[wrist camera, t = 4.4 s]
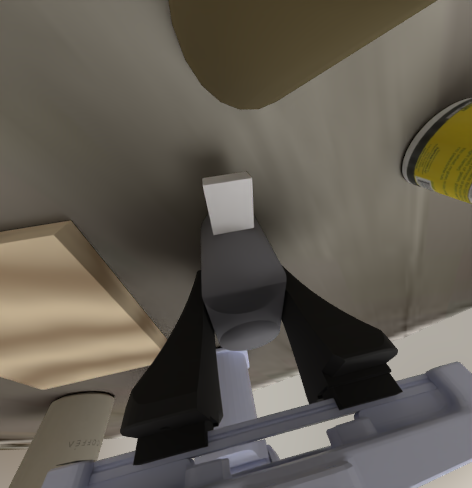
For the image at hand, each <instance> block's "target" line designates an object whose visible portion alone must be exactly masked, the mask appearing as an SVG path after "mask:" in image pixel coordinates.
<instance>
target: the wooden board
mask: <svg viewBox="0 0 472 488" xmlns="http://www.w3.org/2000/svg"><path fill="white" fill-rule="evenodd" d="M166 341H167V339H166V338H165V336H164V335H163V334H162V333H161V331H160V330H159V329H158V328H157V326H156V325H155V324H154V323H153V321H152V320H151V319H150V318H149V317H148V315H147V314H146V313H145V312H144V310H143V309H142V308H141V307H140V305H139V304H138V303H137V302H136V300H135V299H134V298H133V297H132V295H131V294H130V293H129V292H128V291H127V289H126V288H125V287H124V286H123V284H122V283H121V282H120V281H119V279H118V278H117V277H116V276H115V274H114V273H113V272H112V271H111V269H110V268H109V267H108V266H107V265H106V263H105V262H104V261H103V260H102V258H101V257H100V256H99V255H98V253H97V252H96V251H95V250H94V248H93V247H92V246H91V245H90V243H89V242H88V241H87V240H86V239H85V237H84V236H83V235H82V234H81V232H80V231H79V230H78V229H77V227H76V226H75V225H74V224H73V222H72V221H71V220H70V221H64V222H58V223H52V224H46V225H40V226H33V227H27V228H21V229H15V230H9V231H2V232H0V377H3V378H6V379H9V380H12V381H16V382H19V383H22V384H25V385H29V386H32V387H35V388H38V389H42V390H45V389H49V388H53V387H58V386H62V385H66V384H71V383H75V382H79V381H84V380H88V379H92V378H97V377H101V376H105V375H110V374H114V373H118V372H123V371H127V370H131V369H136V368H140V367H144V366H149V365H151V364H152V362H153V361H154V359H155V358H156V356H157V355H158V354H159V352H160V351H161V349H162V348H163V346H164V344H165V343H166Z"/></svg>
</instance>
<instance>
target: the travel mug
mask: <svg viewBox="0 0 472 488" xmlns="http://www.w3.org/2000/svg"><path fill="white" fill-rule="evenodd" d="M114 400H115V399H114V398H113V397H112V396H110V395H109V394H106V393H101V392H86V393H77V394H71V395H67V396H64V397H62V398H60V399H58V400H56V401H54V402H52V403H51V405H50V407H49V409H48V411H47V413H46V415H45V417H44V419H43V421H42V423H41V425H40V427H39V429H38V431H37V433H36V435H35V437H34V439H33V440H32V442H31V444H30V446H29V448H28V450H27V452H26V454H25V456H24V459H23V460H22V462H21V465H20V466H19V468H18V470H17V472H16V474H15V476H14V478H13V480H12V482H11V484H10V486H9V488H41V487H42V484H43V482H44V480H45V477H46V475H47V473H48V472H49V471H50V470H51V469H54V468H58V467H61V466H65V465H69V464H73V463H77V462H81V461H94V462H95V461H97V458H98V455H99V452H100V448H101V445H102V441H103V438H104V435H105V431H106V428H107V424H108V421H109V417H110V414H111V411H112V407H113V404H114Z"/></svg>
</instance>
